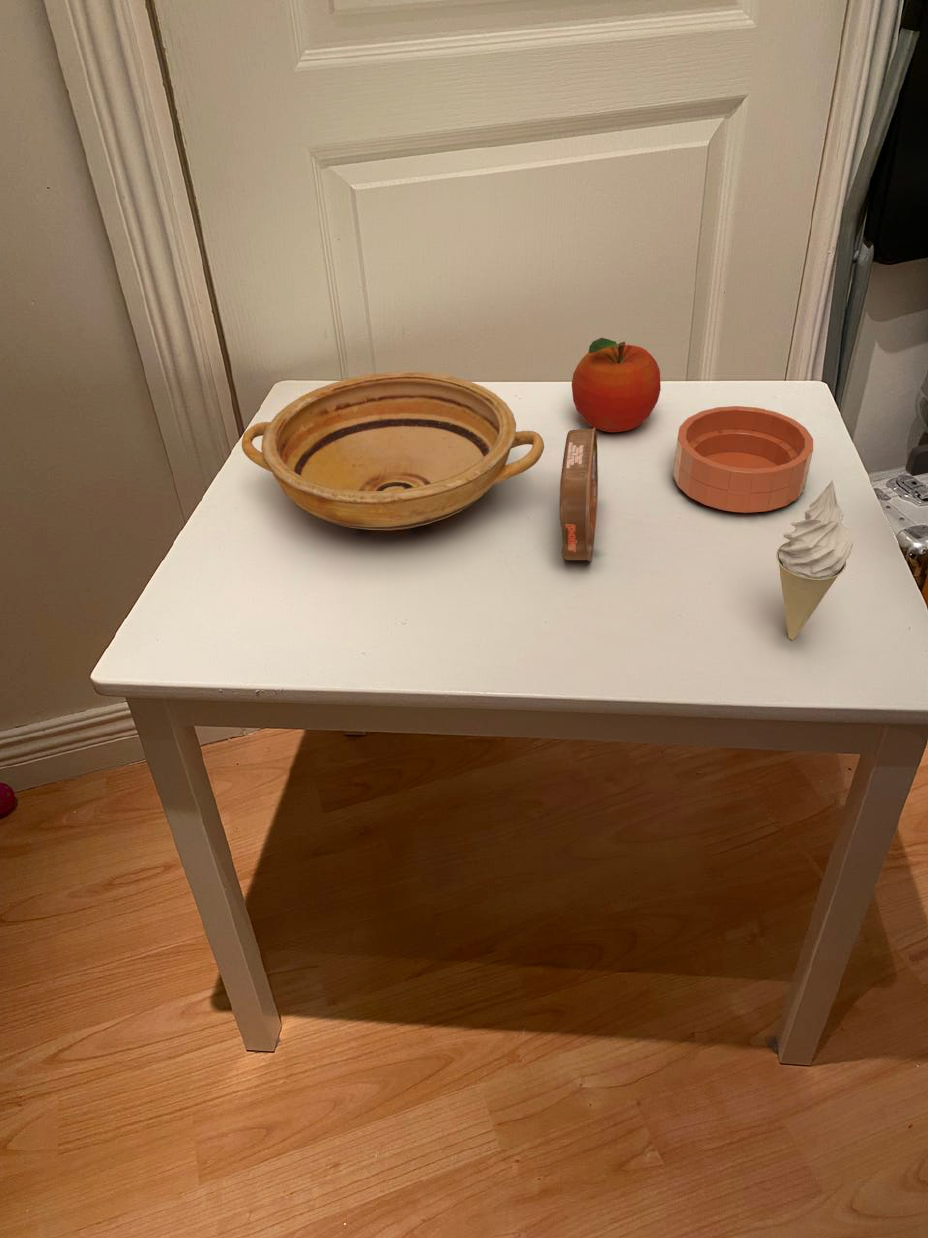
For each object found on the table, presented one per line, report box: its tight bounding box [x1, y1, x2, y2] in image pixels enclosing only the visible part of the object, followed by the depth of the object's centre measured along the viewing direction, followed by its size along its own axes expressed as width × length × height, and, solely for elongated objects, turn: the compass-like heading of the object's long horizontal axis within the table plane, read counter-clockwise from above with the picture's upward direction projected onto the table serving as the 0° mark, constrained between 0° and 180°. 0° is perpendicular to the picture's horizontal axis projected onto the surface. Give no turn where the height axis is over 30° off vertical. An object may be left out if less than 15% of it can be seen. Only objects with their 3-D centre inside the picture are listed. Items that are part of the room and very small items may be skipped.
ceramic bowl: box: [241, 371, 545, 531], centre depth 91 cm, size 30×24×8 cm
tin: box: [558, 427, 599, 562], centre depth 86 cm, size 15×3×8 cm, turn 171°
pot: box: [672, 405, 814, 514], centre depth 92 cm, size 13×13×5 cm
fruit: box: [571, 337, 662, 433], centre depth 100 cm, size 10×10×10 cm
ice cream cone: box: [775, 479, 854, 641], centre depth 71 cm, size 5×5×15 cm
